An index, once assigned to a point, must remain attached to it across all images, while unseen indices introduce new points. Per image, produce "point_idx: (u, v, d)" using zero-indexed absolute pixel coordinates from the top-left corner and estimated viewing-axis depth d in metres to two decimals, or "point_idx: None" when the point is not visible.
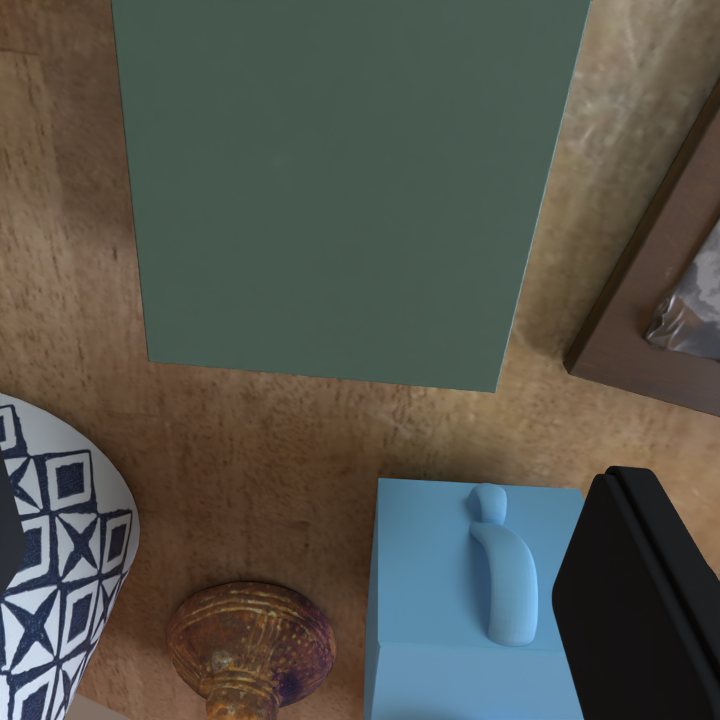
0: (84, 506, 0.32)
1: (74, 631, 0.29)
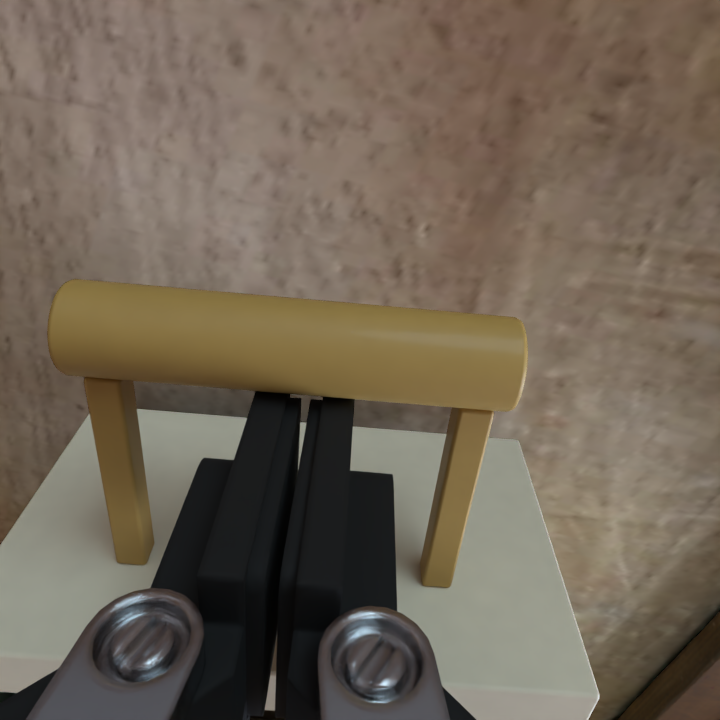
0: None
1: None
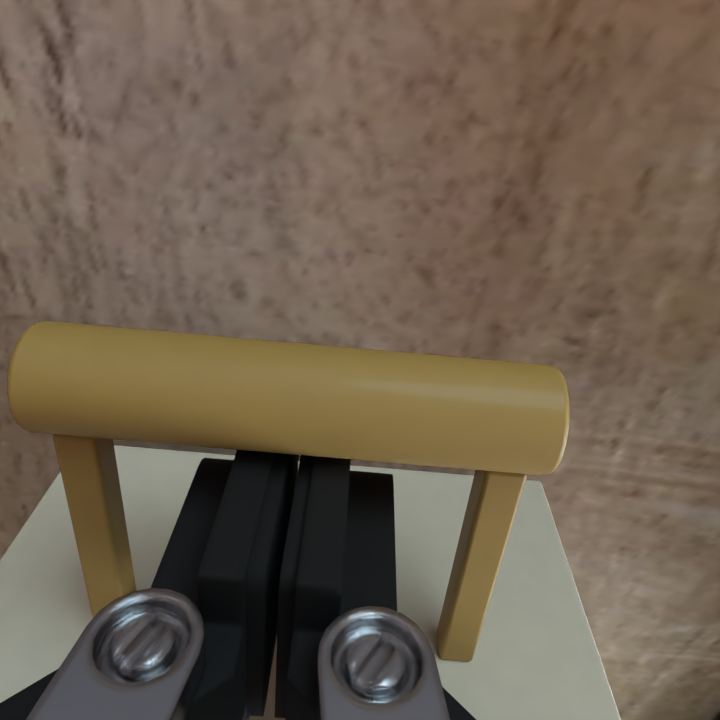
0: None
1: None
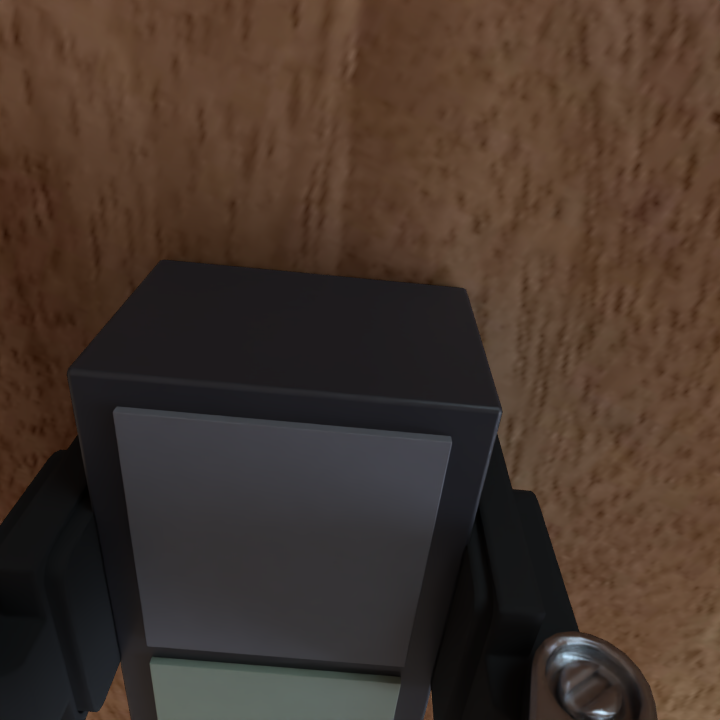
0: None
1: None
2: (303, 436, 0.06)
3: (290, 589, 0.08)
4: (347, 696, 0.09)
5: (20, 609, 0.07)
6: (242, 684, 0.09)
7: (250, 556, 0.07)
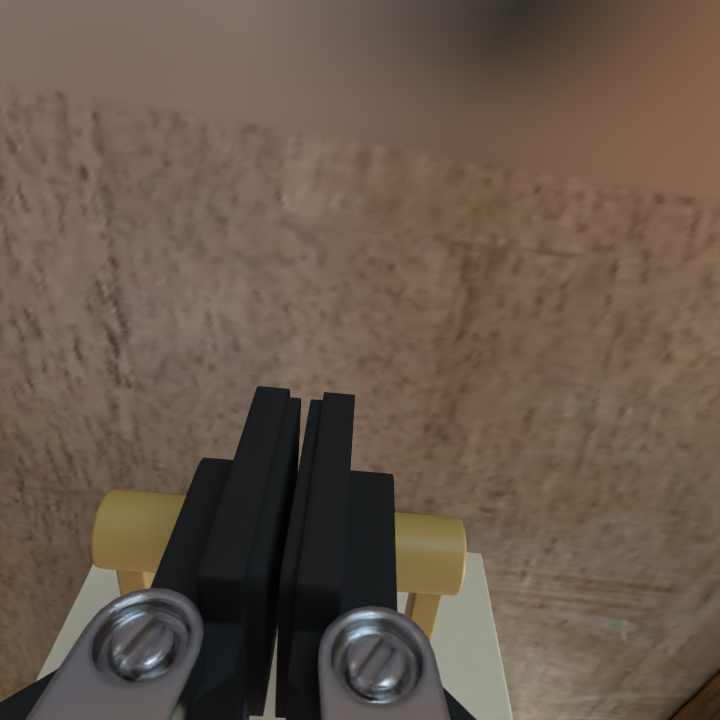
0: None
1: None
2: None
3: None
4: None
5: (220, 617, 0.07)
6: None
7: None
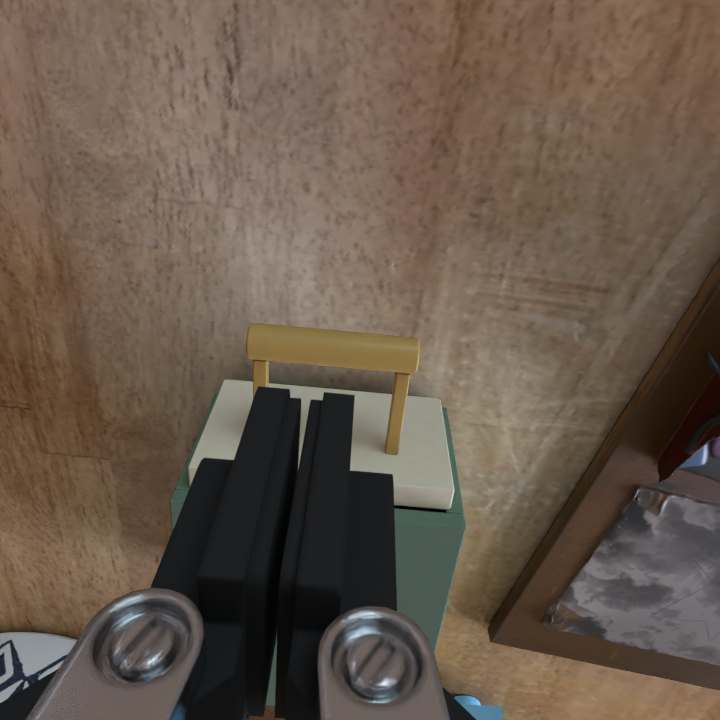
0: None
1: None
2: None
3: None
4: None
5: (220, 617, 0.07)
6: None
7: None
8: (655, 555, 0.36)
